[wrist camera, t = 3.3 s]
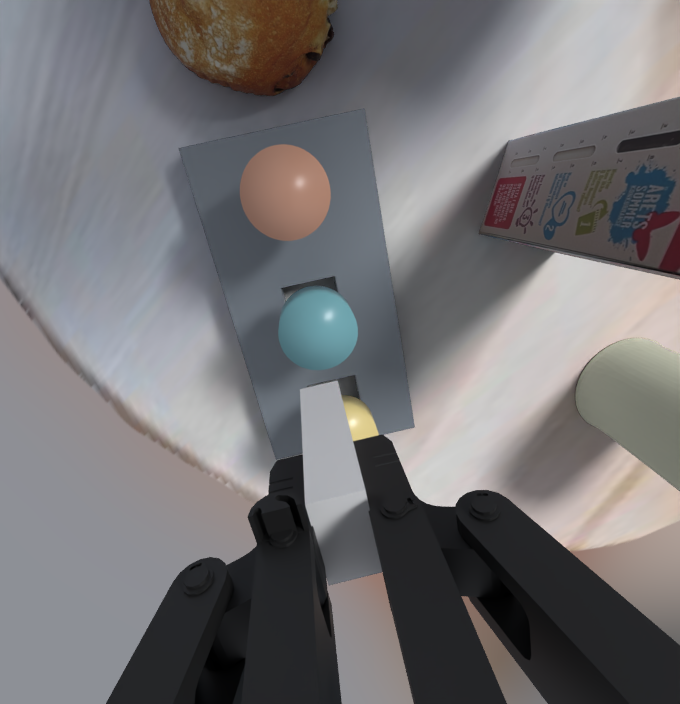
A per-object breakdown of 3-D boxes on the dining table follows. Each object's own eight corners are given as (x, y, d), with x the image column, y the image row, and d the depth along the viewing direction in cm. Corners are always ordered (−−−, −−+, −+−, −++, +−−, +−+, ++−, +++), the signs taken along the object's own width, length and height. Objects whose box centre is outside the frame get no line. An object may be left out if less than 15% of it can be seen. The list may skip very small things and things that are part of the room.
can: (570, 434, 40) (678, 529, 28) (579, 344, 36) (706, 411, 25) (661, 420, 40) (802, 507, 29) (679, 330, 37) (846, 389, 26)
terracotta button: (239, 161, 25) (228, 155, 21) (315, 145, 25) (320, 135, 21) (260, 240, 27) (253, 249, 23) (331, 225, 27) (338, 230, 23)
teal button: (272, 288, 28) (269, 304, 24) (341, 273, 28) (349, 286, 24) (289, 352, 30) (289, 377, 26) (354, 337, 30) (364, 360, 26)
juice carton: (554, 252, 33) (978, 345, 13) (478, 233, 32) (807, 302, 11) (589, 163, 31) (1167, 101, 10) (509, 140, 30) (980, 20, 9)
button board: (186, 151, 28) (178, 148, 26) (359, 114, 28) (364, 108, 26) (276, 446, 37) (276, 459, 35) (408, 415, 37) (414, 427, 35)
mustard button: (300, 391, 31) (301, 421, 27) (362, 376, 31) (372, 404, 27) (314, 444, 33) (317, 480, 29) (373, 430, 33) (384, 464, 29)
